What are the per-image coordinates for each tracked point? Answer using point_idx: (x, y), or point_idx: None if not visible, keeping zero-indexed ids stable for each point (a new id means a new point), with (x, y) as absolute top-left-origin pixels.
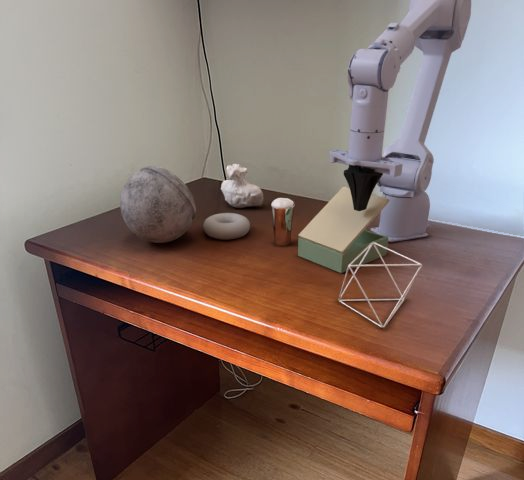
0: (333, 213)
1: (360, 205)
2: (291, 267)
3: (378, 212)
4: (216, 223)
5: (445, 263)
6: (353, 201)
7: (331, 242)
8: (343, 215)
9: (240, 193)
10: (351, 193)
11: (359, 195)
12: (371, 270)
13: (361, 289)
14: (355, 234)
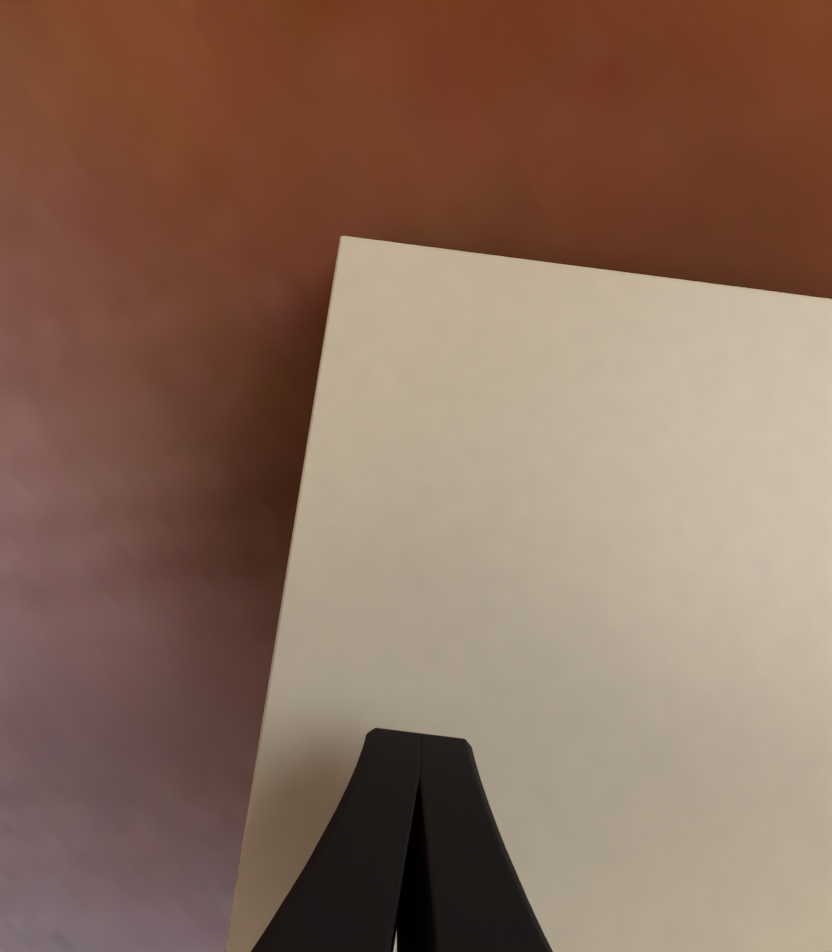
0: (771, 705)
1: (346, 791)
2: (753, 57)
3: (241, 861)
4: None
5: (19, 770)
6: (469, 817)
7: (522, 310)
8: (628, 703)
9: None
10: (527, 938)
11: (312, 914)
12: (244, 431)
13: None
14: (324, 470)
